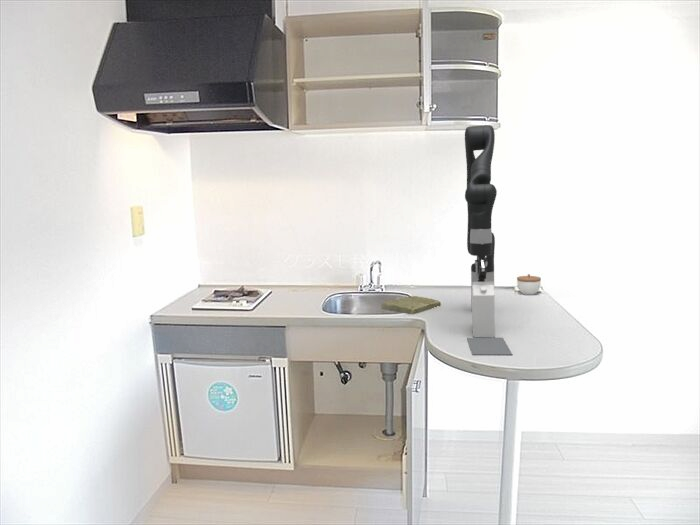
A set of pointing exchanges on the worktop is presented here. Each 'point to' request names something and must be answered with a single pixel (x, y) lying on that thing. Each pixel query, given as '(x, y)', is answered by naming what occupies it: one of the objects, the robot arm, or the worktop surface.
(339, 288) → the worktop surface
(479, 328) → the milk carton
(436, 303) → the olive green towel
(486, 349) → the mat
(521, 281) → the lidded jar
